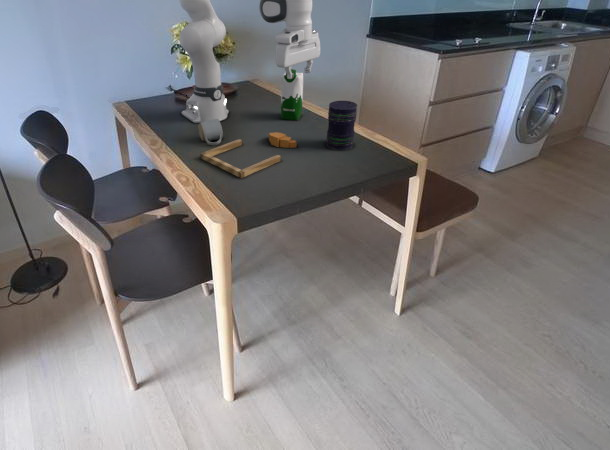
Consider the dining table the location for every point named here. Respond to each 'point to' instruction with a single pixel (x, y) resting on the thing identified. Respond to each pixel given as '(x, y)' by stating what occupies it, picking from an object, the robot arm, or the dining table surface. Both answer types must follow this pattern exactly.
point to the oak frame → (231, 169)
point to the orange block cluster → (281, 140)
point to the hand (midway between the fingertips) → (299, 75)
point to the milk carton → (291, 96)
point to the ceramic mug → (211, 131)
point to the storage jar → (341, 125)
